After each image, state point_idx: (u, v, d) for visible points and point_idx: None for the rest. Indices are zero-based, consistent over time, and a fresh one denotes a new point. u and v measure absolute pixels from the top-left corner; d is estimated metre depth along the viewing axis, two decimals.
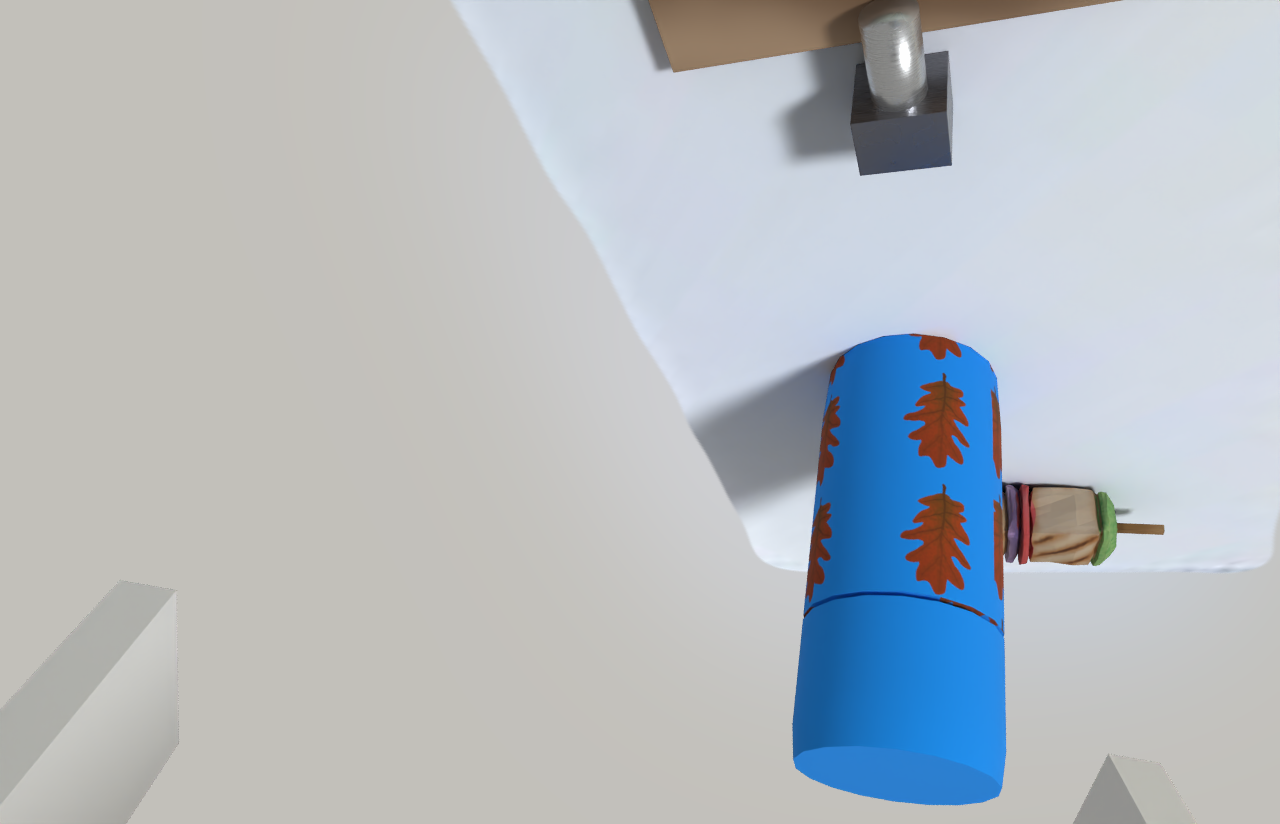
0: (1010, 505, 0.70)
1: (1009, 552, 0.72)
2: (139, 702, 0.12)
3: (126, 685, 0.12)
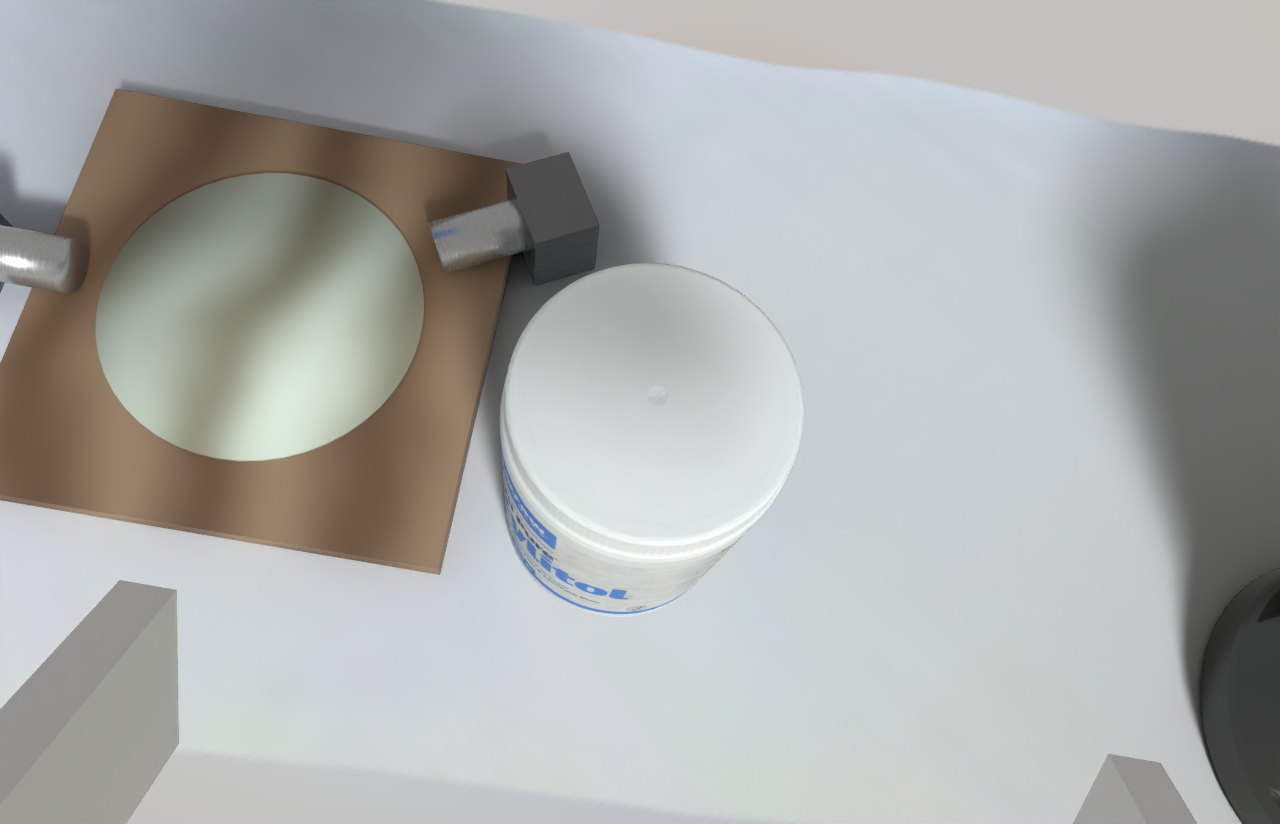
0: None
1: None
2: (139, 702, 0.12)
3: (126, 685, 0.12)
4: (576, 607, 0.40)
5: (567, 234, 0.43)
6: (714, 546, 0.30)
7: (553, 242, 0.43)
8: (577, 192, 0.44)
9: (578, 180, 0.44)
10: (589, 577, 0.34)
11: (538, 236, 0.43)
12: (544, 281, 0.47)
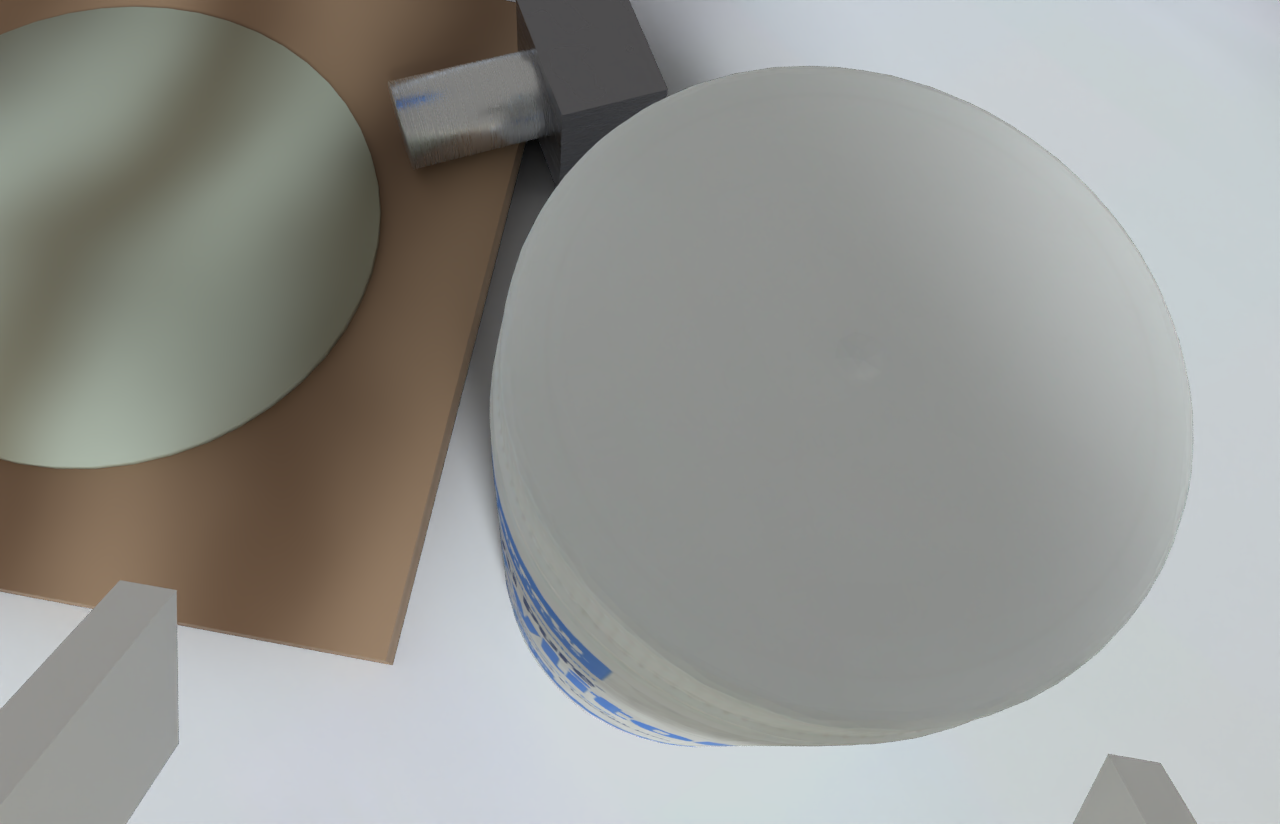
0: None
1: None
2: (139, 702, 0.12)
3: (127, 686, 0.12)
4: (622, 731, 0.24)
5: (615, 102, 0.26)
6: None
7: (592, 116, 0.26)
8: (632, 37, 0.27)
9: (633, 19, 0.27)
10: (666, 726, 0.17)
11: (567, 104, 0.26)
12: None
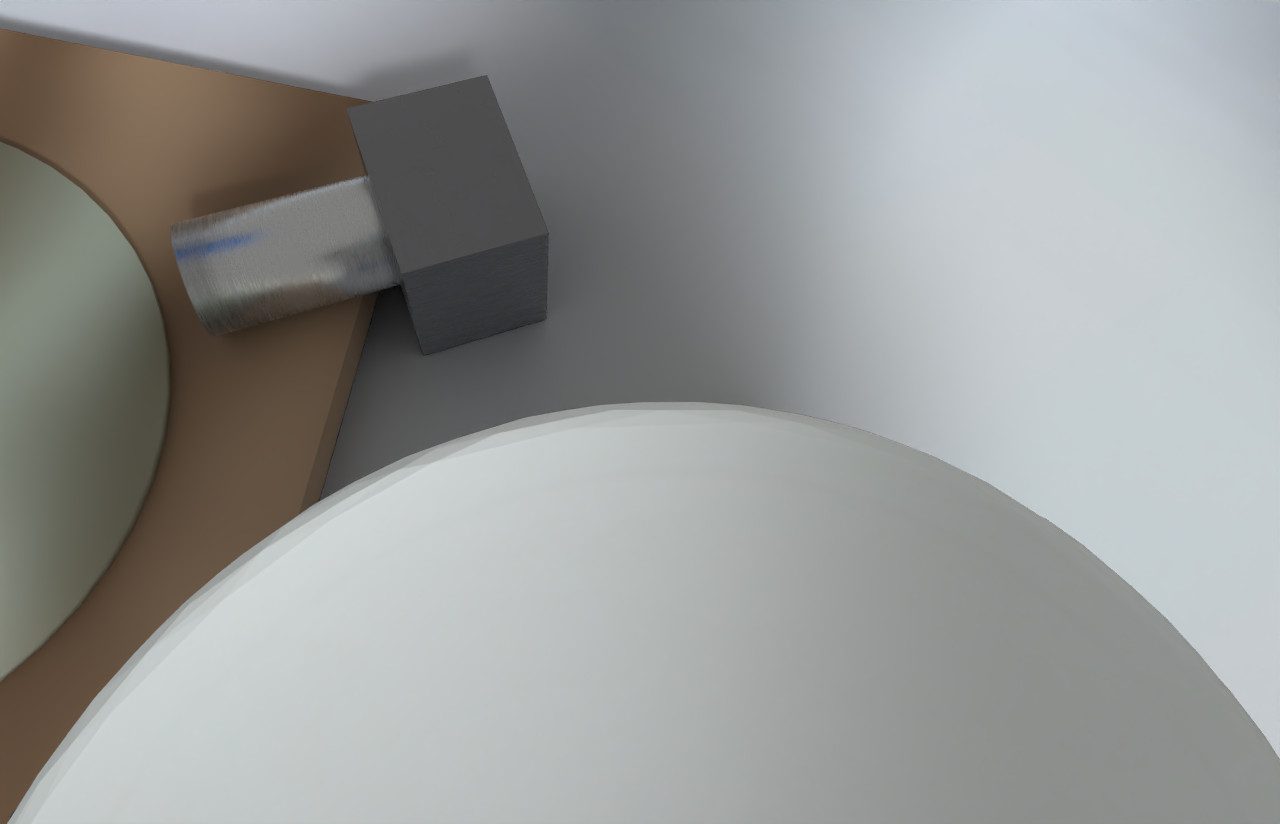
0: None
1: None
2: None
3: None
4: None
5: (476, 253, 0.19)
6: None
7: (446, 271, 0.20)
8: (502, 161, 0.20)
9: (506, 135, 0.20)
10: None
11: (410, 258, 0.19)
12: (441, 347, 0.23)
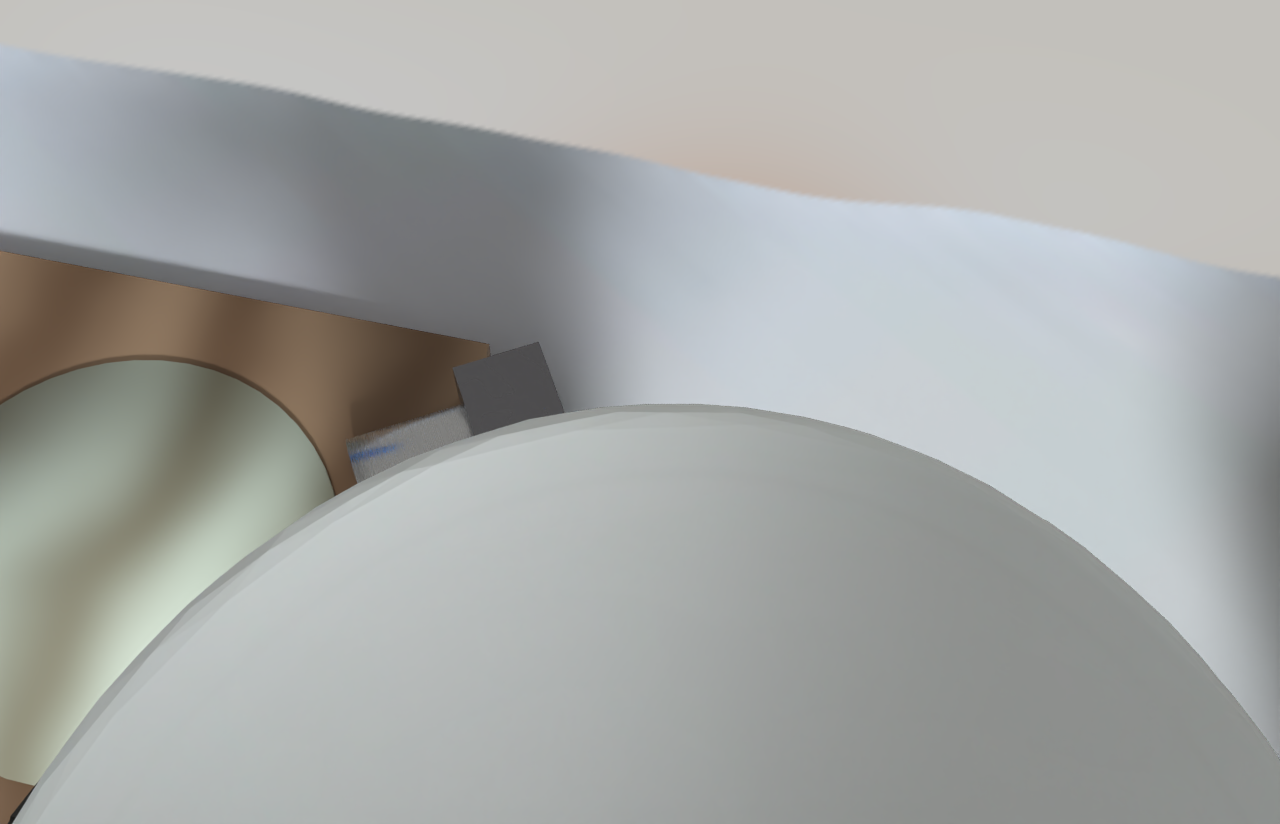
0: None
1: None
2: None
3: None
4: None
5: None
6: None
7: None
8: (549, 400, 0.32)
9: (550, 383, 0.33)
10: None
11: None
12: None
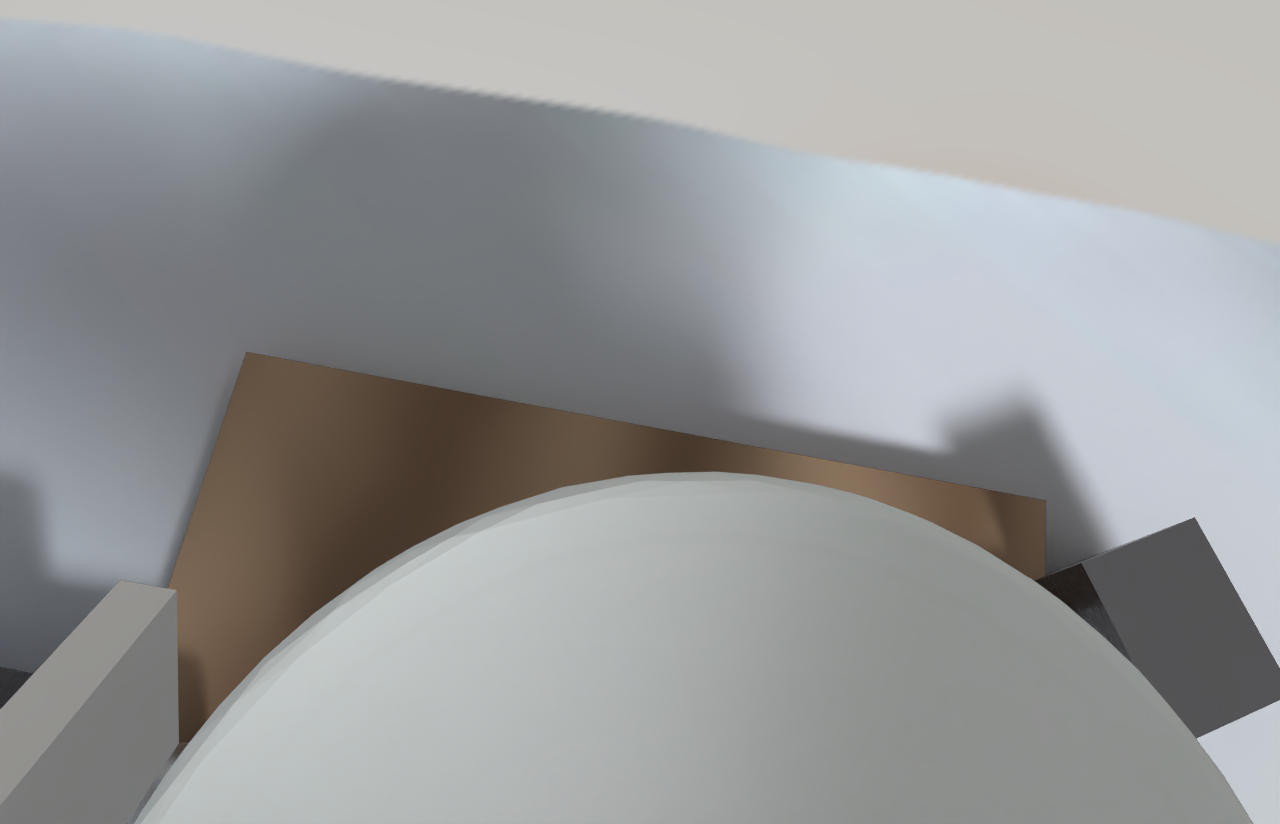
0: None
1: None
2: (139, 702, 0.12)
3: (126, 686, 0.12)
4: None
5: (1234, 719, 0.20)
6: None
7: None
8: (1233, 614, 0.21)
9: (1228, 584, 0.21)
10: None
11: None
12: None
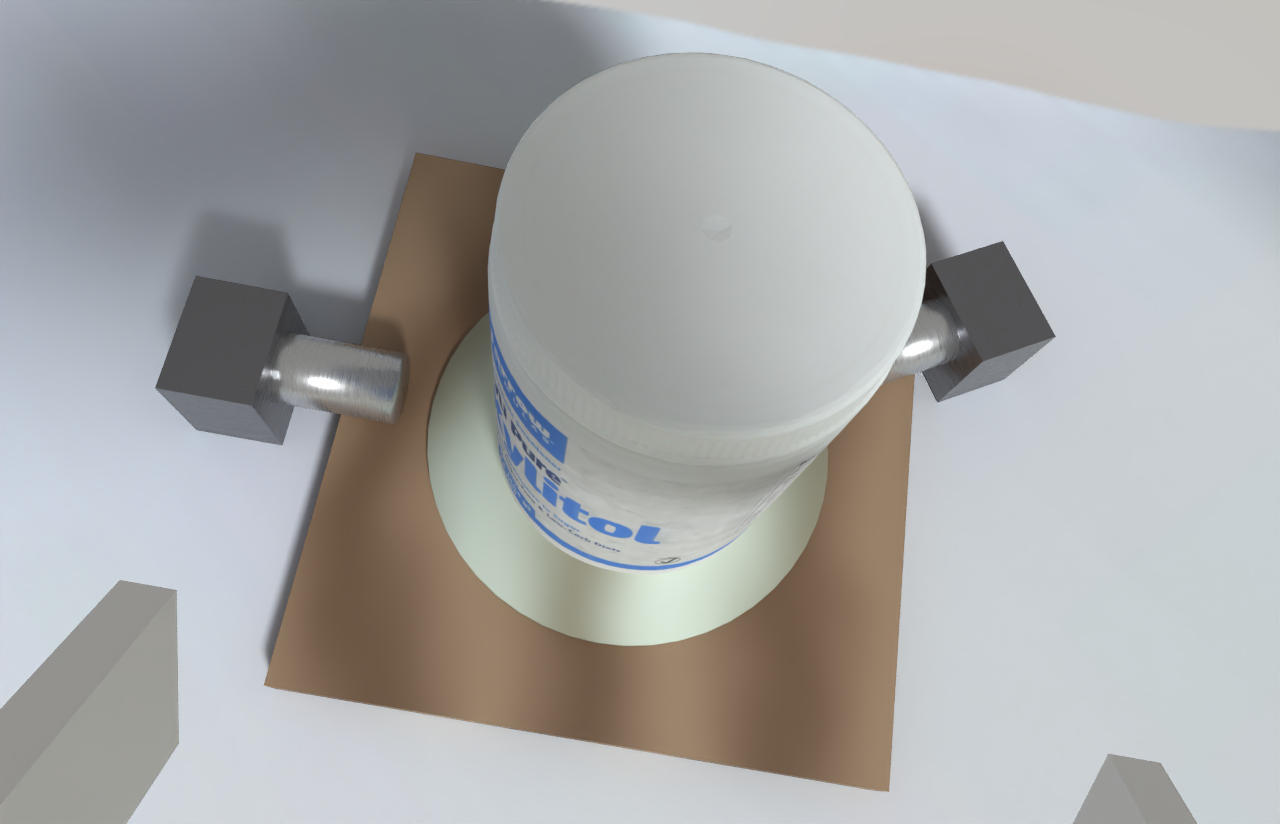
0: None
1: None
2: (139, 702, 0.12)
3: (126, 686, 0.12)
4: (588, 561, 0.31)
5: (1018, 349, 0.34)
6: (797, 448, 0.20)
7: (998, 358, 0.34)
8: (1022, 293, 0.35)
9: (1020, 278, 0.35)
10: (610, 506, 0.24)
11: (985, 352, 0.34)
12: (949, 397, 0.37)
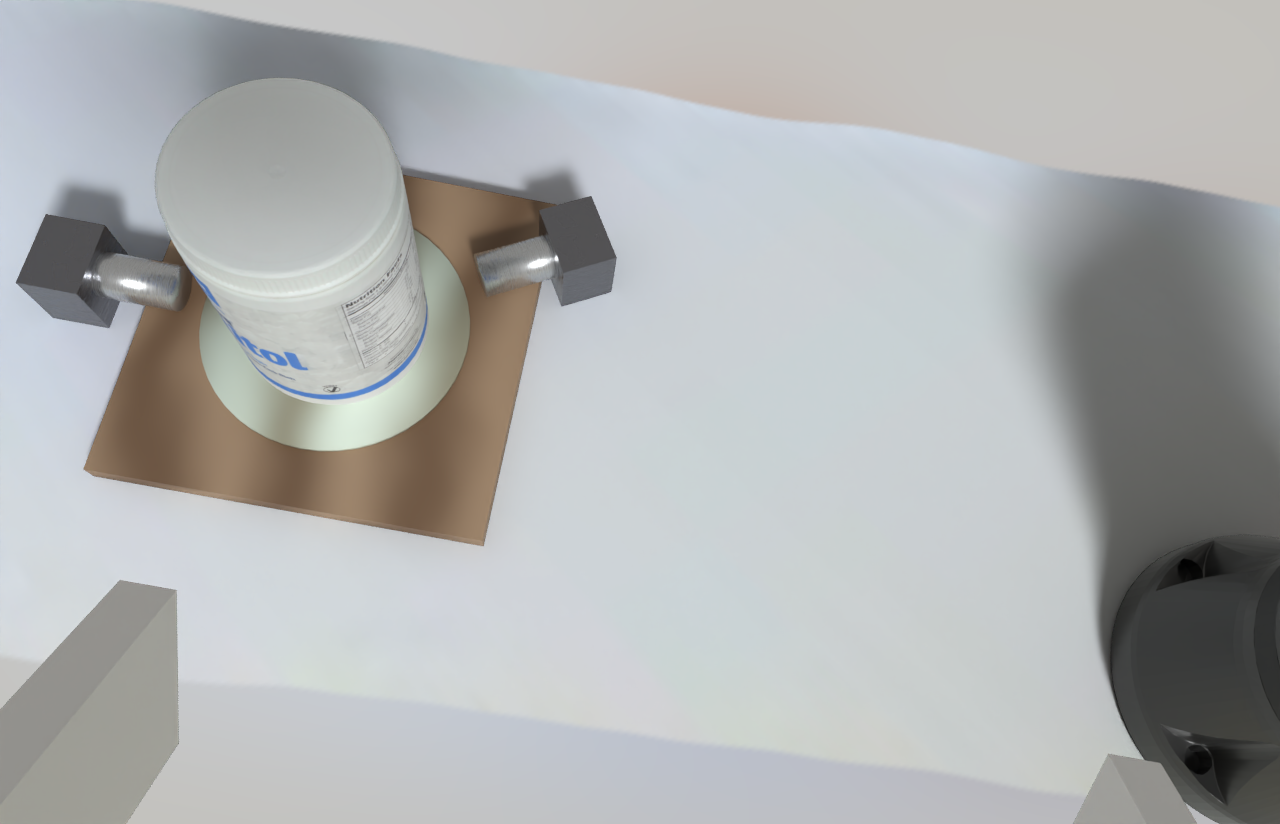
0: None
1: None
2: (139, 702, 0.12)
3: (127, 685, 0.12)
4: (291, 394, 0.49)
5: (590, 265, 0.52)
6: (319, 289, 0.38)
7: (578, 271, 0.52)
8: (598, 230, 0.53)
9: (599, 220, 0.53)
10: (258, 337, 0.43)
11: (566, 267, 0.52)
12: (569, 303, 0.55)
